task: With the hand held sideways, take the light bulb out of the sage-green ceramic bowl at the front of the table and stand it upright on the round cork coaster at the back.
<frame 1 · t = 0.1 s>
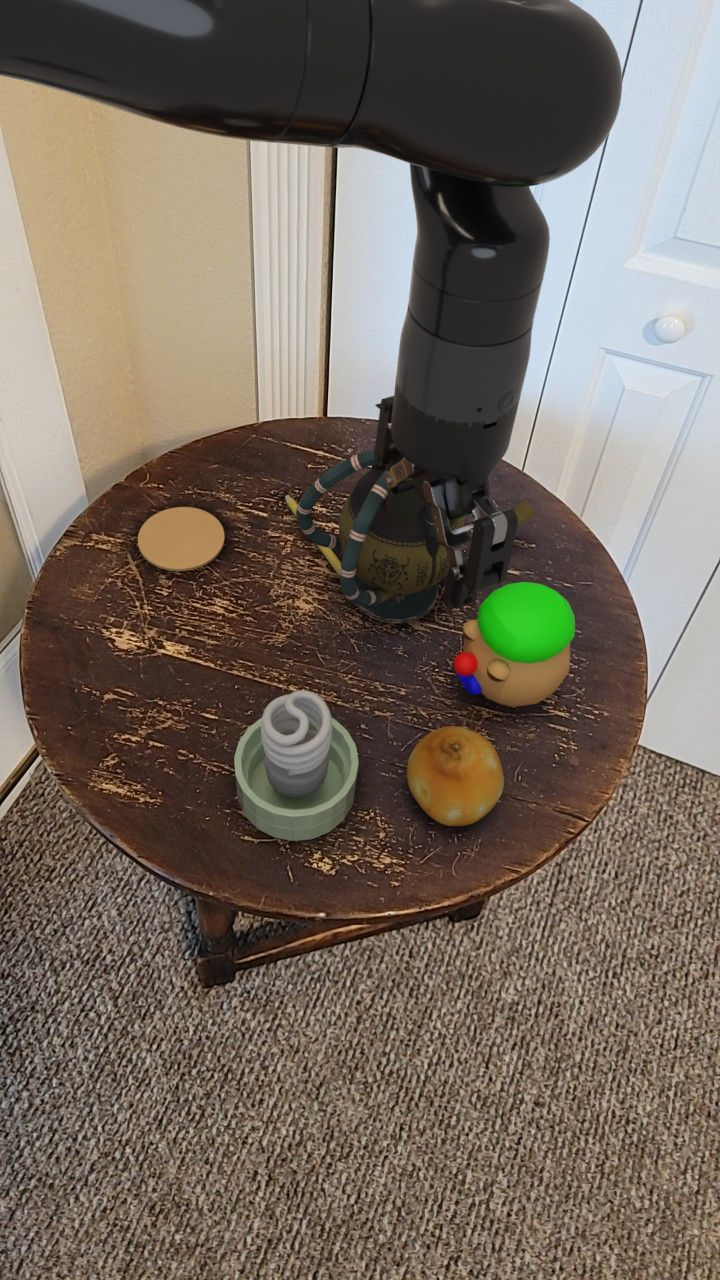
hand: (428, 562, 68), 22 cm above the table, tool pointing down, fingers open, 8 cm apart
coaster: (181, 539, 98), on the table
bowl: (296, 789, 81), on the table
fruit: (449, 794, 81), on the table
figurine: (498, 687, 89), on the table
light bulb: (296, 787, 80), resting on bowl
pencil: (313, 537, 99), on the table
teapot: (423, 579, 97), on the table
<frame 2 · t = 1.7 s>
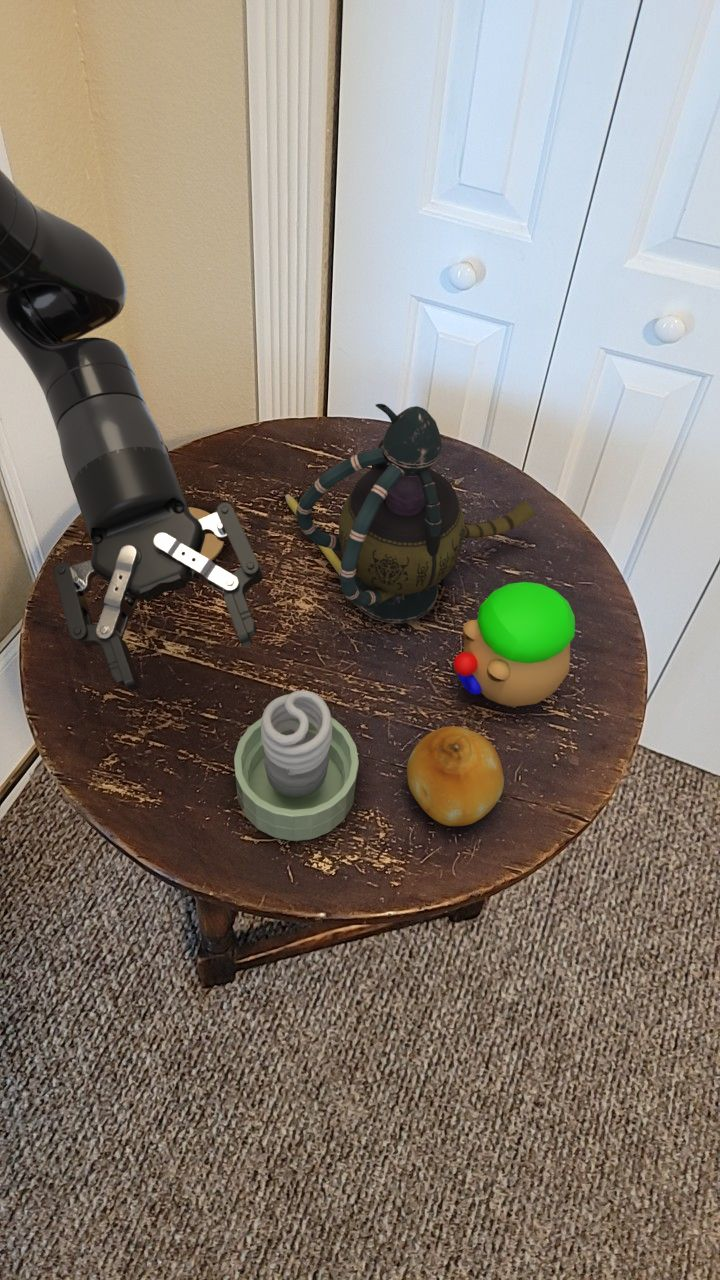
hand: (191, 666, 66), 18 cm above the table, tool tilted 70°, fingers open, 8 cm apart
nothing on the table moved.
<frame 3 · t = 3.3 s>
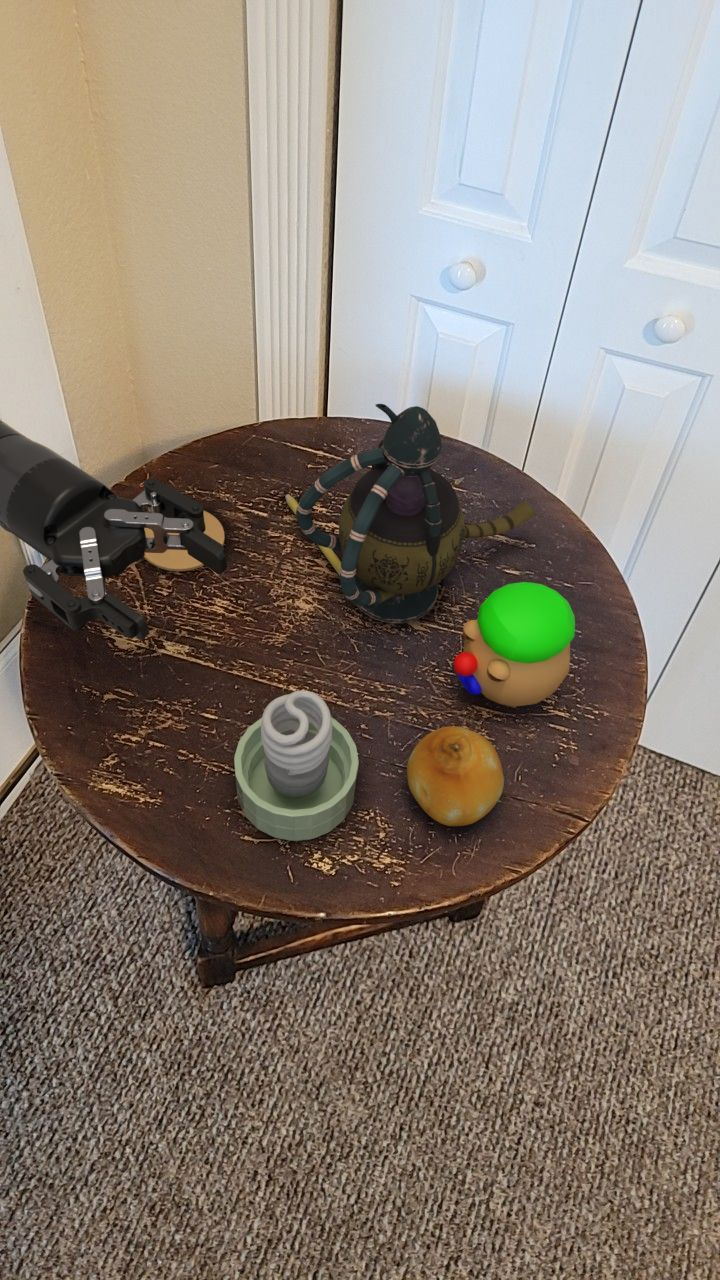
hand: (185, 596, 71), 17 cm above the table, tool horizontal, fingers open, 8 cm apart
nothing on the table moved.
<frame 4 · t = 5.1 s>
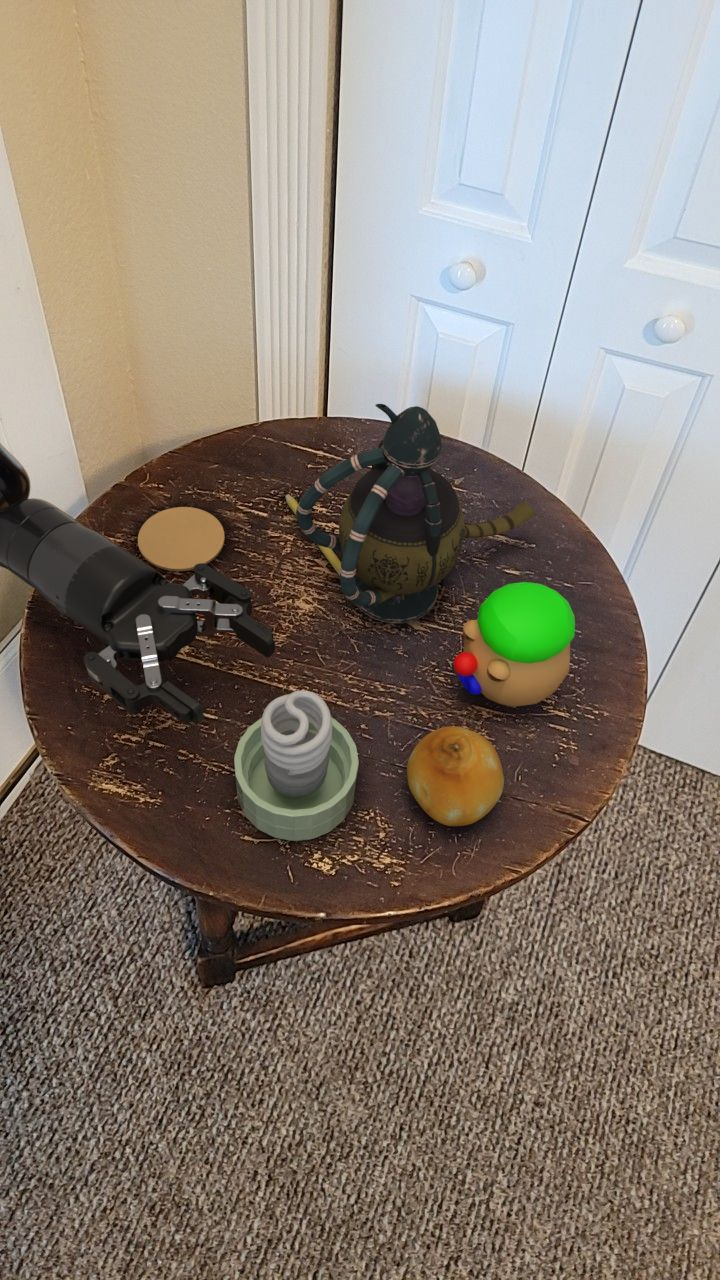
hand: (237, 681, 74), 11 cm above the table, tool horizontal, fingers open, 8 cm apart
nothing on the table moved.
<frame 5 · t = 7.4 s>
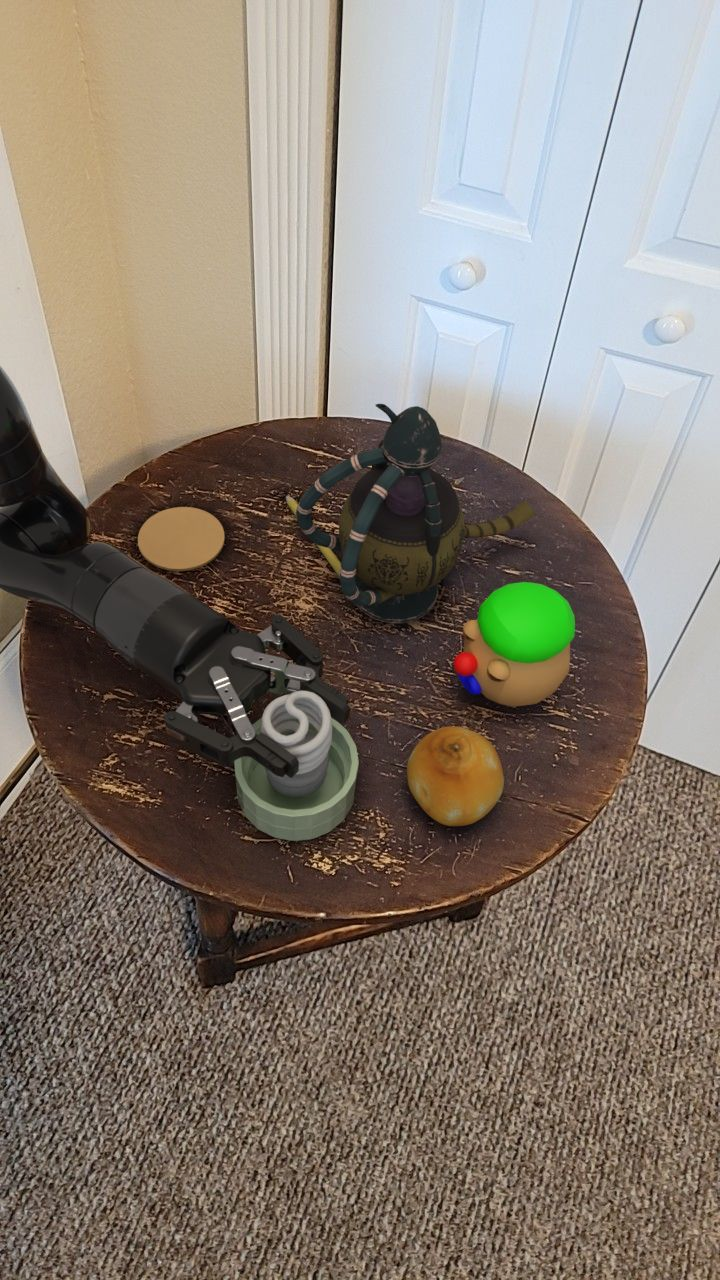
hand: (321, 741, 71), 11 cm above the table, tool horizontal, fingers closed on light bulb, 5 cm apart
light bulb: (296, 787, 80), resting on bowl, touching gripper
everything else where it was.
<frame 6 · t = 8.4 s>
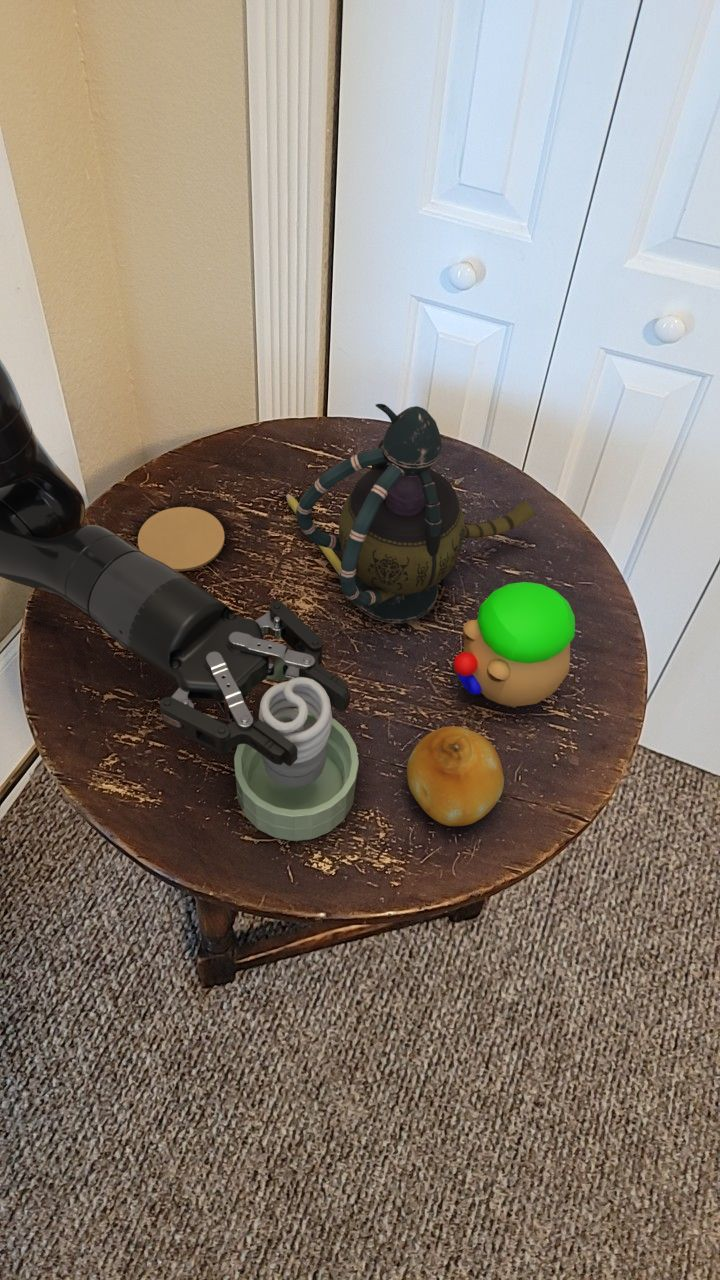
hand: (320, 729, 70), 13 cm above the table, tool horizontal, fingers closed on light bulb, 5 cm apart
light bulb: (293, 777, 79), point 2 cm above the table, touching gripper
everything else where it was.
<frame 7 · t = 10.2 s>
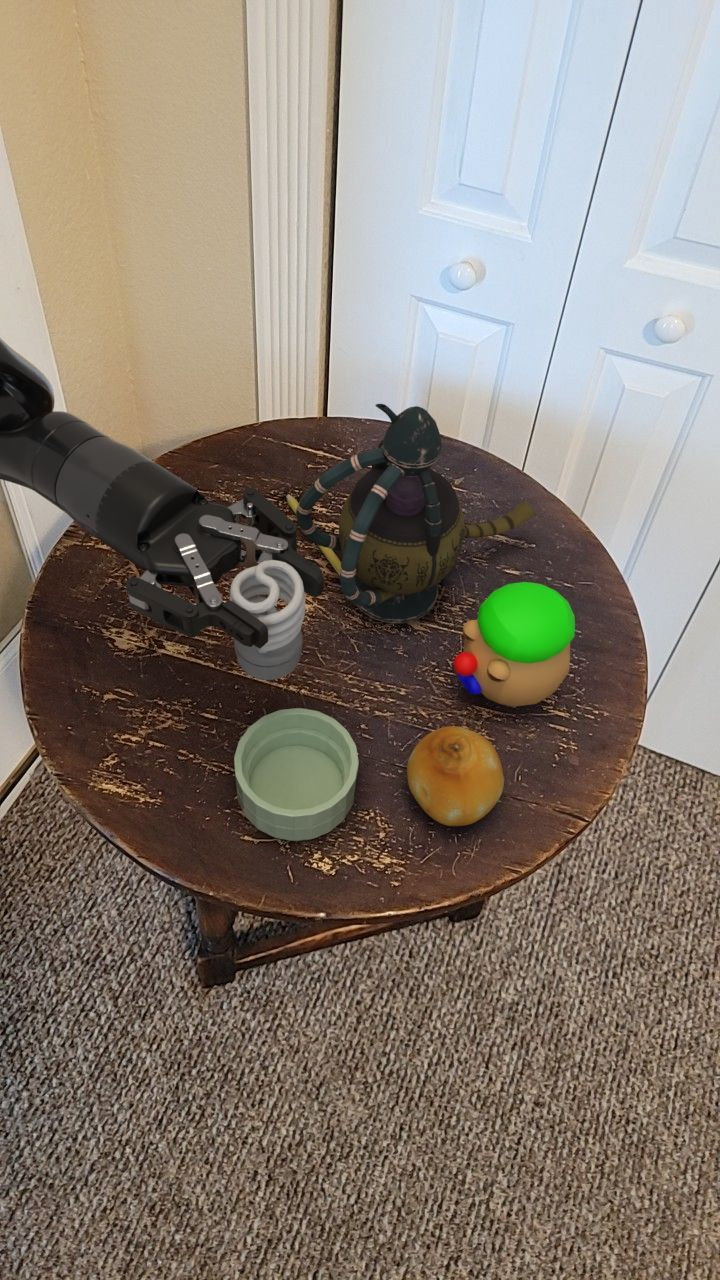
hand: (293, 611, 67), 20 cm above the table, tool horizontal, fingers closed on light bulb, 5 cm apart
light bulb: (269, 674, 76), point 9 cm above the table, touching gripper
everything else where it was.
when the fingers open (10 cm above the table, at t = 16.6 s): light bulb stays where it is, resting on coaster.
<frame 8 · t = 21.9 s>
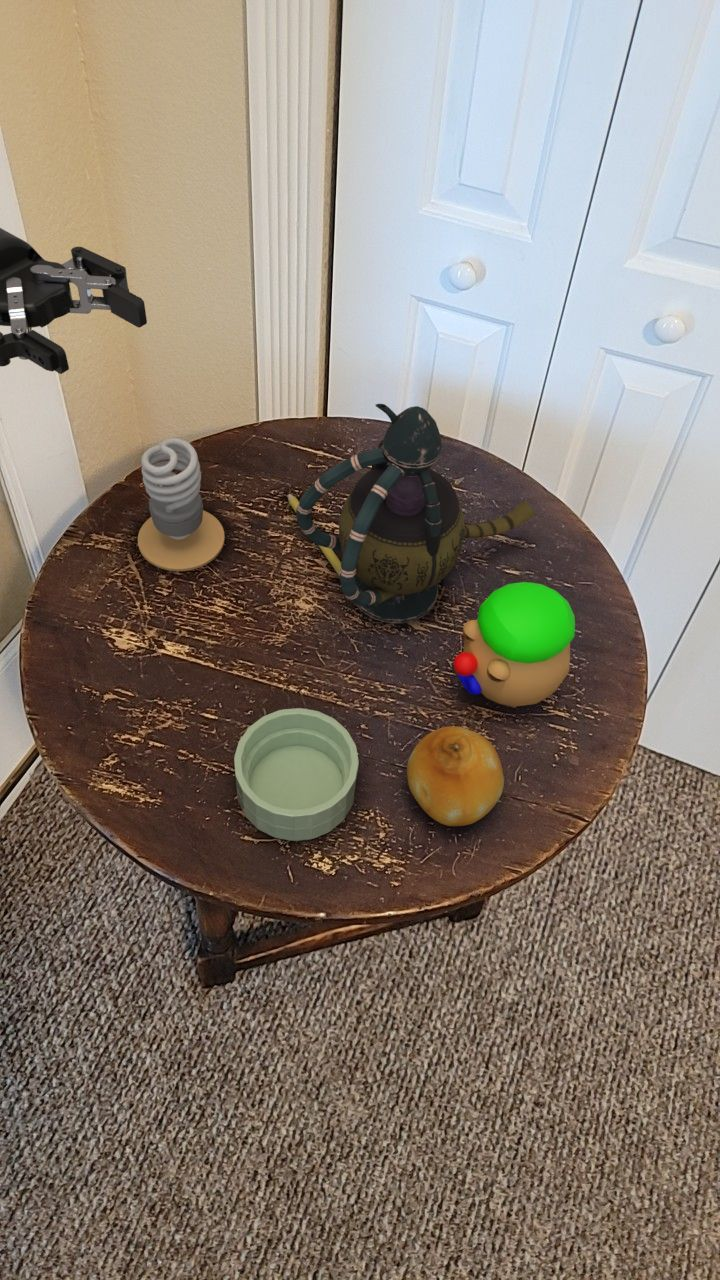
hand: (104, 338, 76), 26 cm above the table, tool horizontal, fingers open, 8 cm apart
light bulb: (180, 537, 98), resting on coaster
everything else where it was.
at the end: light bulb 0.1 cm off-centre on the coaster, point 0.2 cm above the coaster's base; light bulb touching coaster; light bulb tilted 0° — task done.
